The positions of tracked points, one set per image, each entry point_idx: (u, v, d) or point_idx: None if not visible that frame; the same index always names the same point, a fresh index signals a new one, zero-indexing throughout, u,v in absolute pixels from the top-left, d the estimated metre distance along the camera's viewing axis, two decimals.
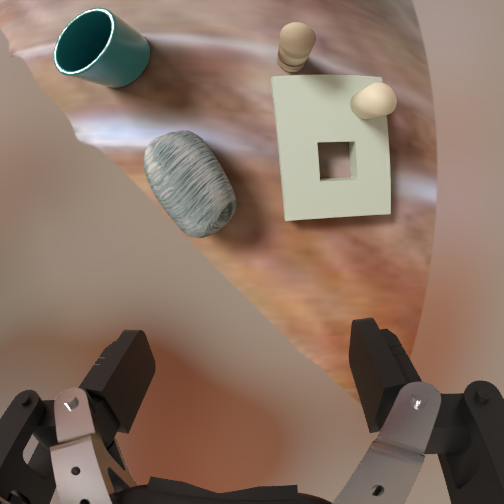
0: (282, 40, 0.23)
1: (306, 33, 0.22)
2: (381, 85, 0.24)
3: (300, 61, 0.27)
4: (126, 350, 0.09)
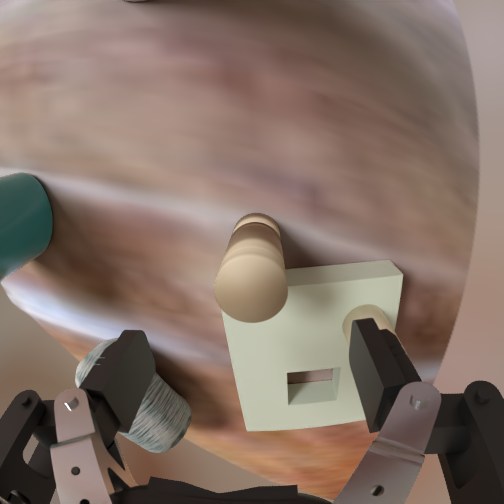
0: (219, 302, 0.14)
1: (268, 285, 0.14)
2: None
3: None
4: (126, 350, 0.09)
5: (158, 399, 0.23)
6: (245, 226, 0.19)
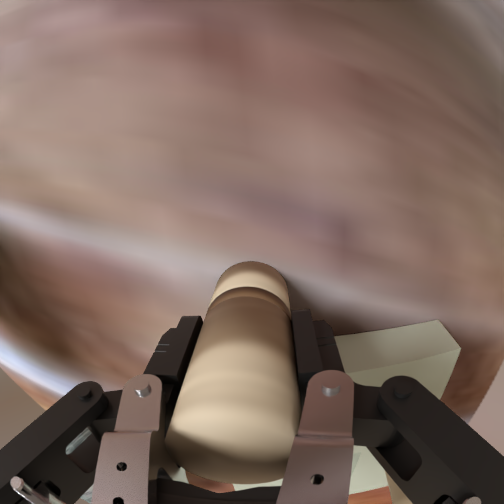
0: (177, 461, 0.06)
1: (269, 453, 0.06)
2: None
3: None
4: (191, 334, 0.10)
5: None
6: (230, 297, 0.11)
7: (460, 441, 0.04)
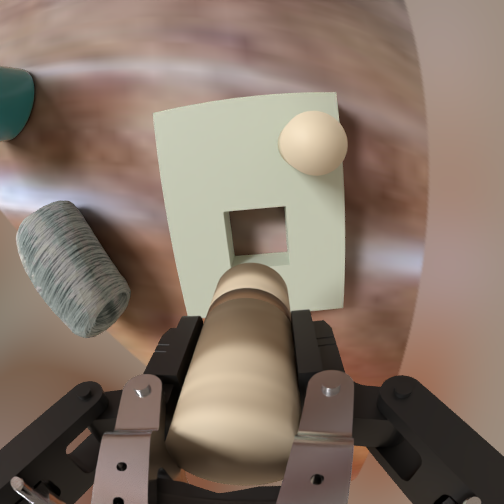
0: (178, 463, 0.06)
1: (269, 455, 0.06)
2: (316, 116, 0.14)
3: None
4: (191, 334, 0.10)
5: (87, 250, 0.21)
6: (230, 299, 0.11)
7: (460, 441, 0.04)
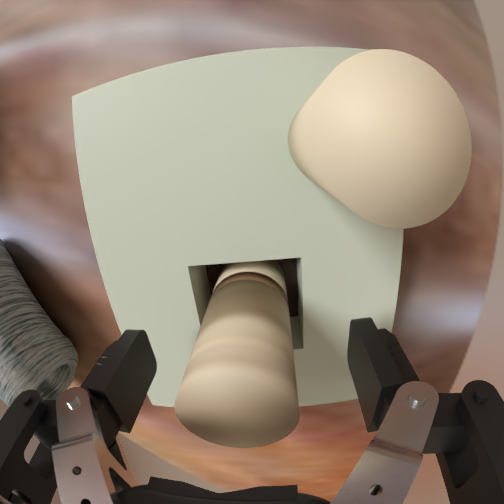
0: (185, 423, 0.08)
1: (266, 410, 0.07)
2: (402, 65, 0.04)
3: None
4: (128, 349, 0.09)
5: (4, 312, 0.12)
6: (232, 281, 0.12)
7: None
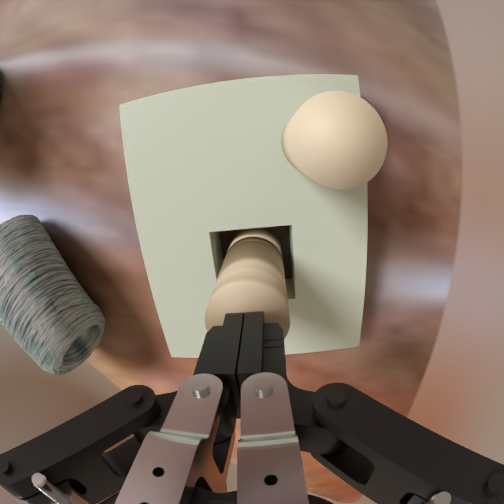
0: None
1: (267, 315, 0.12)
2: (341, 99, 0.09)
3: None
4: (240, 331, 0.10)
5: (48, 277, 0.16)
6: (242, 242, 0.17)
7: (411, 440, 0.04)
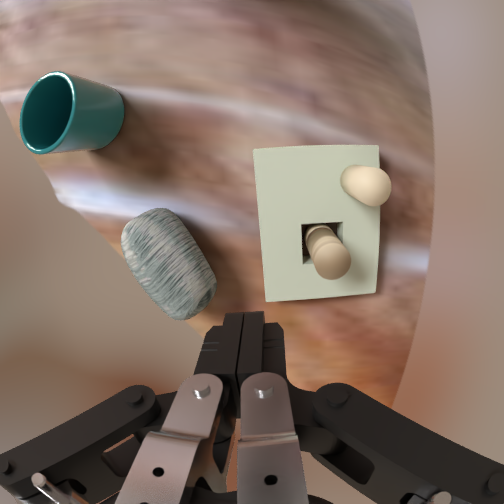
0: (316, 268, 0.27)
1: (342, 258, 0.27)
2: (375, 171, 0.24)
3: None
4: (240, 331, 0.10)
5: (194, 248, 0.31)
6: (318, 229, 0.32)
7: (411, 440, 0.04)
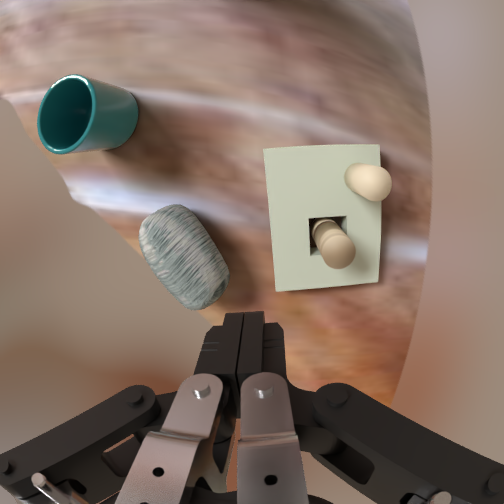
0: (324, 258, 0.29)
1: (347, 249, 0.29)
2: (377, 169, 0.26)
3: None
4: (240, 331, 0.10)
5: (209, 242, 0.33)
6: (324, 223, 0.34)
7: (411, 440, 0.04)
